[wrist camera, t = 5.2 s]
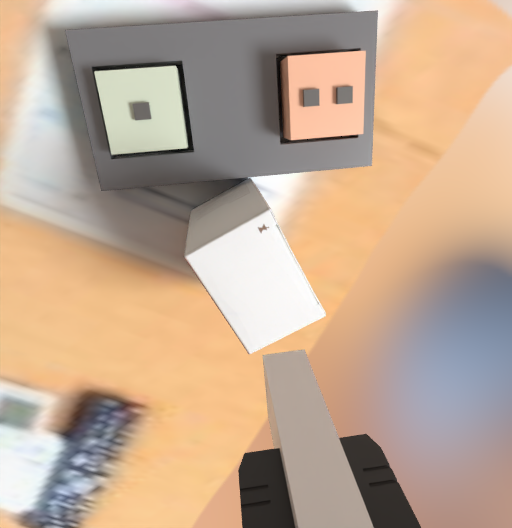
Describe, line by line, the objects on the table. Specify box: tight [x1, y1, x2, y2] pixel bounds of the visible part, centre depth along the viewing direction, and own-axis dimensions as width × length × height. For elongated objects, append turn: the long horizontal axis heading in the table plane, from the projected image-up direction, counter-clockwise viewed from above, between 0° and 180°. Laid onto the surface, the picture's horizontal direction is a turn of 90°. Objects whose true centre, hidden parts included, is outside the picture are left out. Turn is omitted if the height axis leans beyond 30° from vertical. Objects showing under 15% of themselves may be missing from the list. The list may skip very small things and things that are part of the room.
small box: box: [184, 178, 326, 354], centre depth 27 cm, size 8×6×10 cm
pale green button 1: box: [94, 66, 189, 155], centre depth 26 cm, size 5×5×3 cm
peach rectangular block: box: [280, 51, 366, 140], centre depth 26 cm, size 5×5×3 cm
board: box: [65, 11, 378, 191], centre depth 27 cm, size 20×10×2 cm, turn 94°
